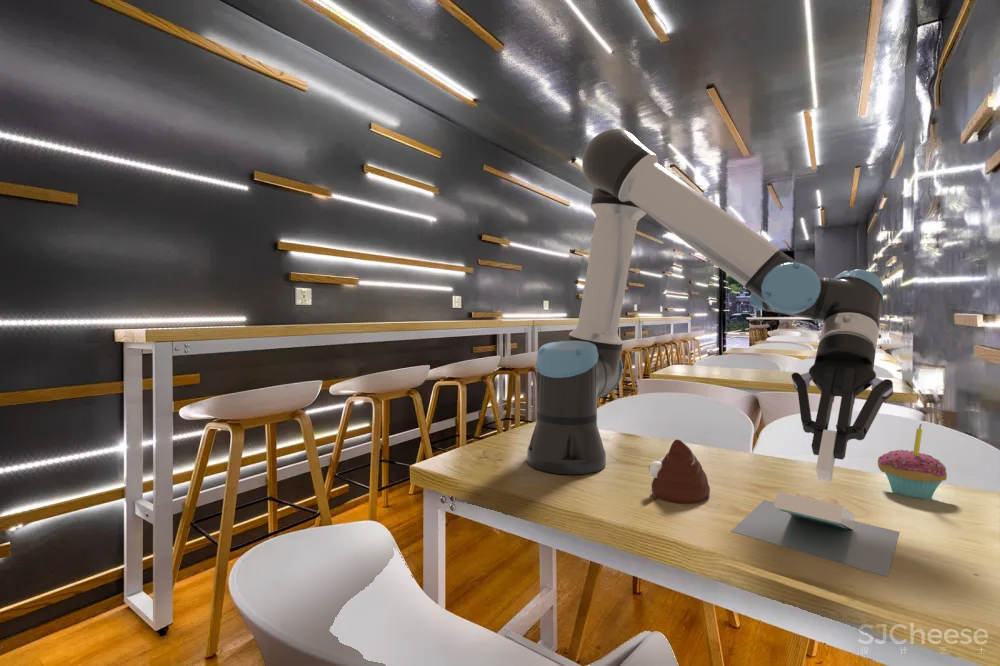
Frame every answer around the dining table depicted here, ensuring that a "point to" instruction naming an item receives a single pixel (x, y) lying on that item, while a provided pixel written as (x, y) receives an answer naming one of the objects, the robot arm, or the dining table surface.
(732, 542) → the dining table surface
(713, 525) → the dining table surface
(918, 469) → the cupcake
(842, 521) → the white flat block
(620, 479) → the dining table surface
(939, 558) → the dining table surface
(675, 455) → the poop emoji
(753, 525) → the slate board
